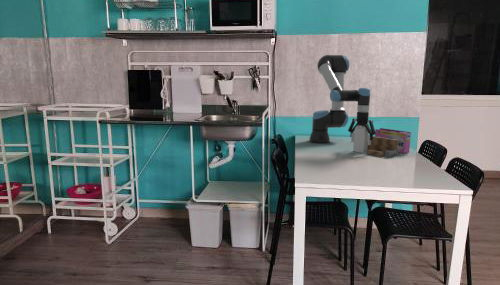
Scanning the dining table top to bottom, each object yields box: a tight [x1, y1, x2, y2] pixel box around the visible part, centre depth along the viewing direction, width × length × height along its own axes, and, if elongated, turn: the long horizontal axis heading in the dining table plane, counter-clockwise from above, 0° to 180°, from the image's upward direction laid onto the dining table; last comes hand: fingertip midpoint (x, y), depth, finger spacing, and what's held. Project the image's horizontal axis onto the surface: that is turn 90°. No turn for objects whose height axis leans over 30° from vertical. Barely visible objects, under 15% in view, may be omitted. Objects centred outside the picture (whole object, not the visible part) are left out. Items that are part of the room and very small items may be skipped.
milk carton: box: [352, 124, 370, 154], centre depth 263 cm, size 7×7×19 cm
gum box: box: [374, 127, 412, 154], centre depth 270 cm, size 24×8×14 cm, turn 41°
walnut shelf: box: [367, 135, 398, 158], centre depth 258 cm, size 24×12×10 cm, turn 44°
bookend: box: [384, 149, 397, 159], centre depth 251 cm, size 2×10×4 cm, turn 134°
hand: (360, 143), depth 263 cm, fingers open, 12 cm apart
